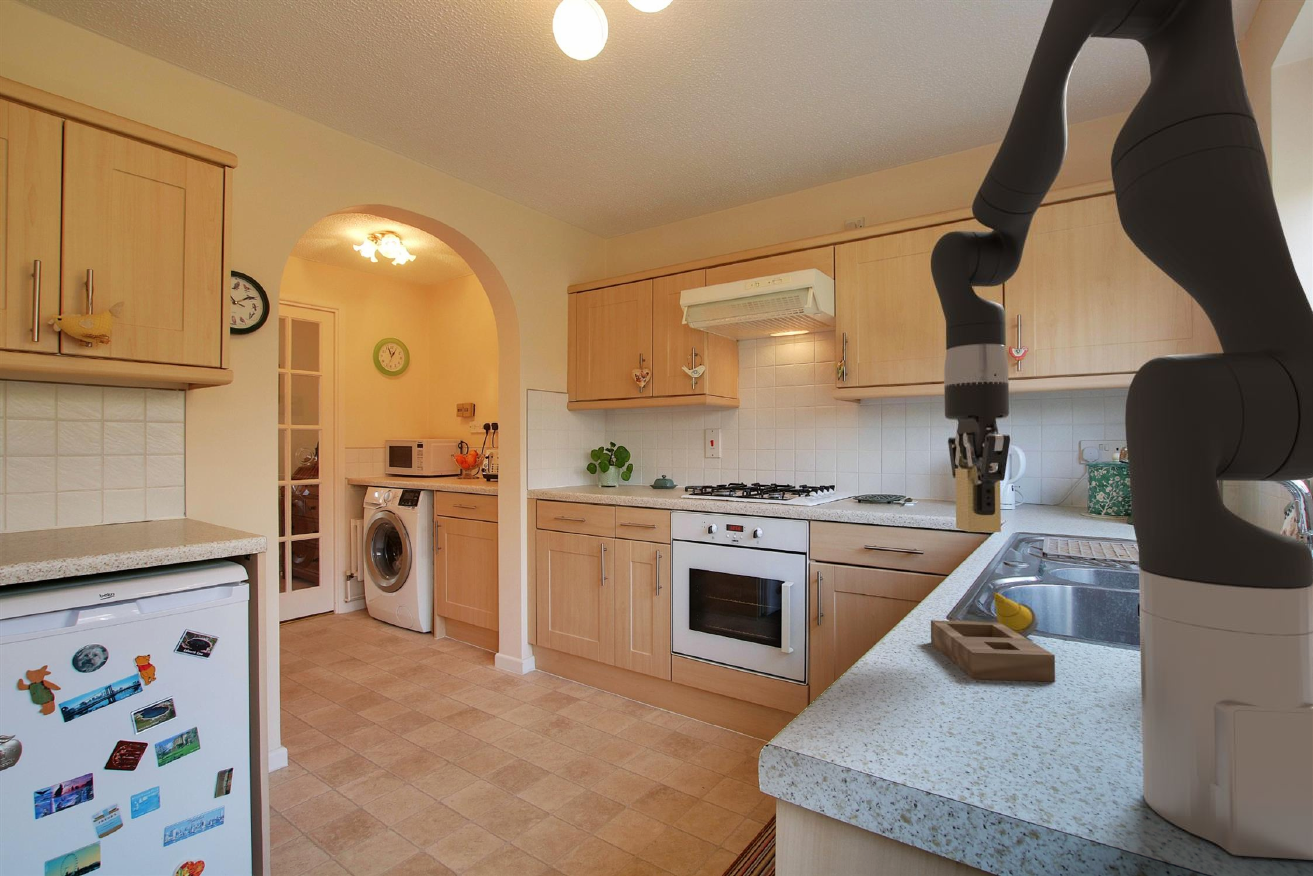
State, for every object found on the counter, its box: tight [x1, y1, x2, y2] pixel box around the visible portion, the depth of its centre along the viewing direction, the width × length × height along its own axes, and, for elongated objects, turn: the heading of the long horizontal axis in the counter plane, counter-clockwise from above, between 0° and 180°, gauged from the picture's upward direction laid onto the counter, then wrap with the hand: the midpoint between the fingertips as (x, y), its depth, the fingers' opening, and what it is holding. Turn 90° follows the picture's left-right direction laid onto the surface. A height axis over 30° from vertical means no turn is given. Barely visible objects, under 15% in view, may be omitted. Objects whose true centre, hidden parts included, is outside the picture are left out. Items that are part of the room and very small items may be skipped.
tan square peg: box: [955, 469, 1002, 533], centre depth 81 cm, size 4×4×8 cm
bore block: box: [930, 619, 1056, 683], centre depth 78 cm, size 14×9×3 cm, turn 175°
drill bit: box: [993, 592, 1039, 638], centre depth 87 cm, size 5×5×10 cm
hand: (977, 512), depth 81 cm, fingers closed on tan square peg, 4 cm apart
